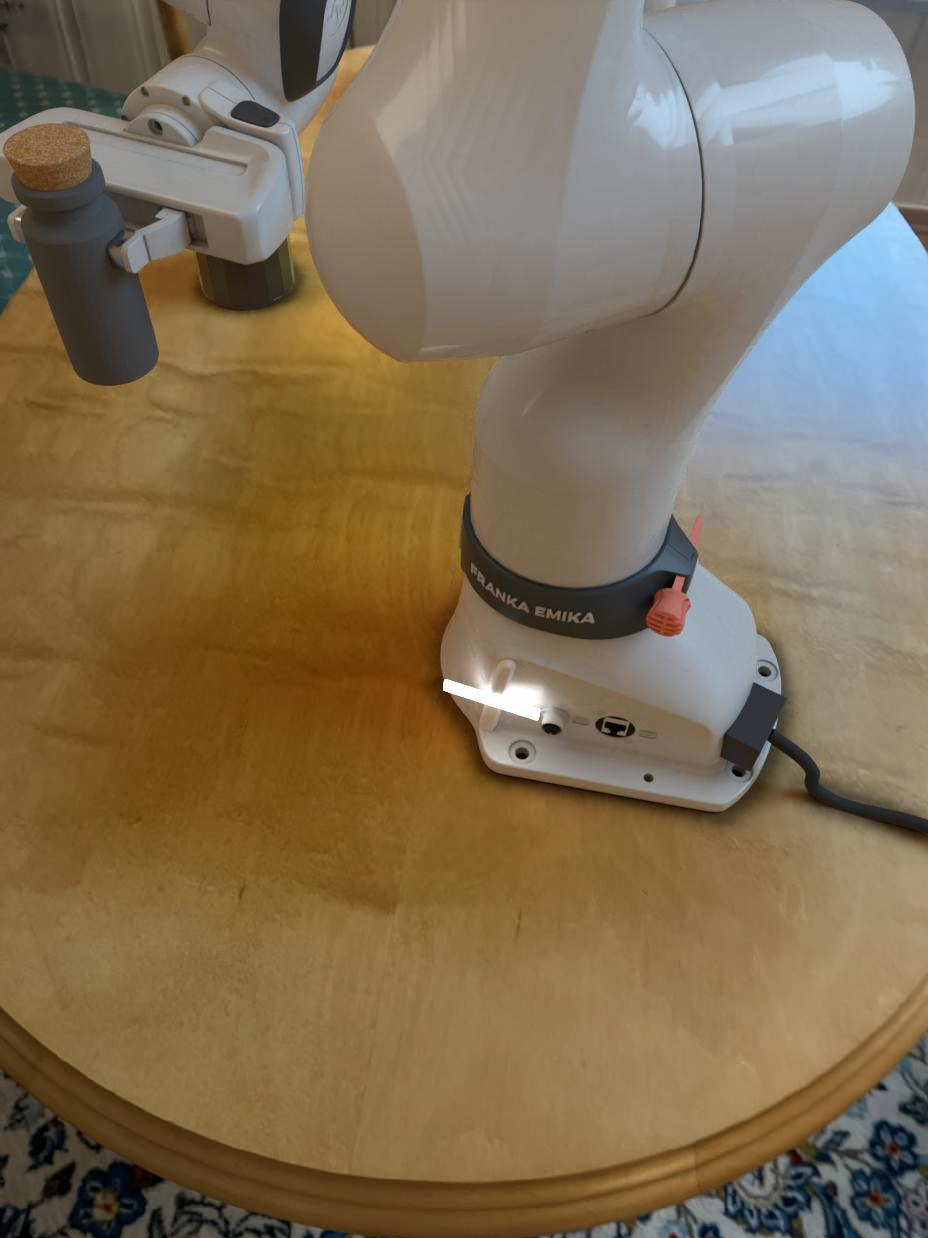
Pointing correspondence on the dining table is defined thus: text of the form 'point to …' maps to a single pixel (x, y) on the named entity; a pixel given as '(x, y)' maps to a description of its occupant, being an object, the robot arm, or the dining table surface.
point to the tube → (247, 279)
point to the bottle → (80, 254)
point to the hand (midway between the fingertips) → (69, 247)
